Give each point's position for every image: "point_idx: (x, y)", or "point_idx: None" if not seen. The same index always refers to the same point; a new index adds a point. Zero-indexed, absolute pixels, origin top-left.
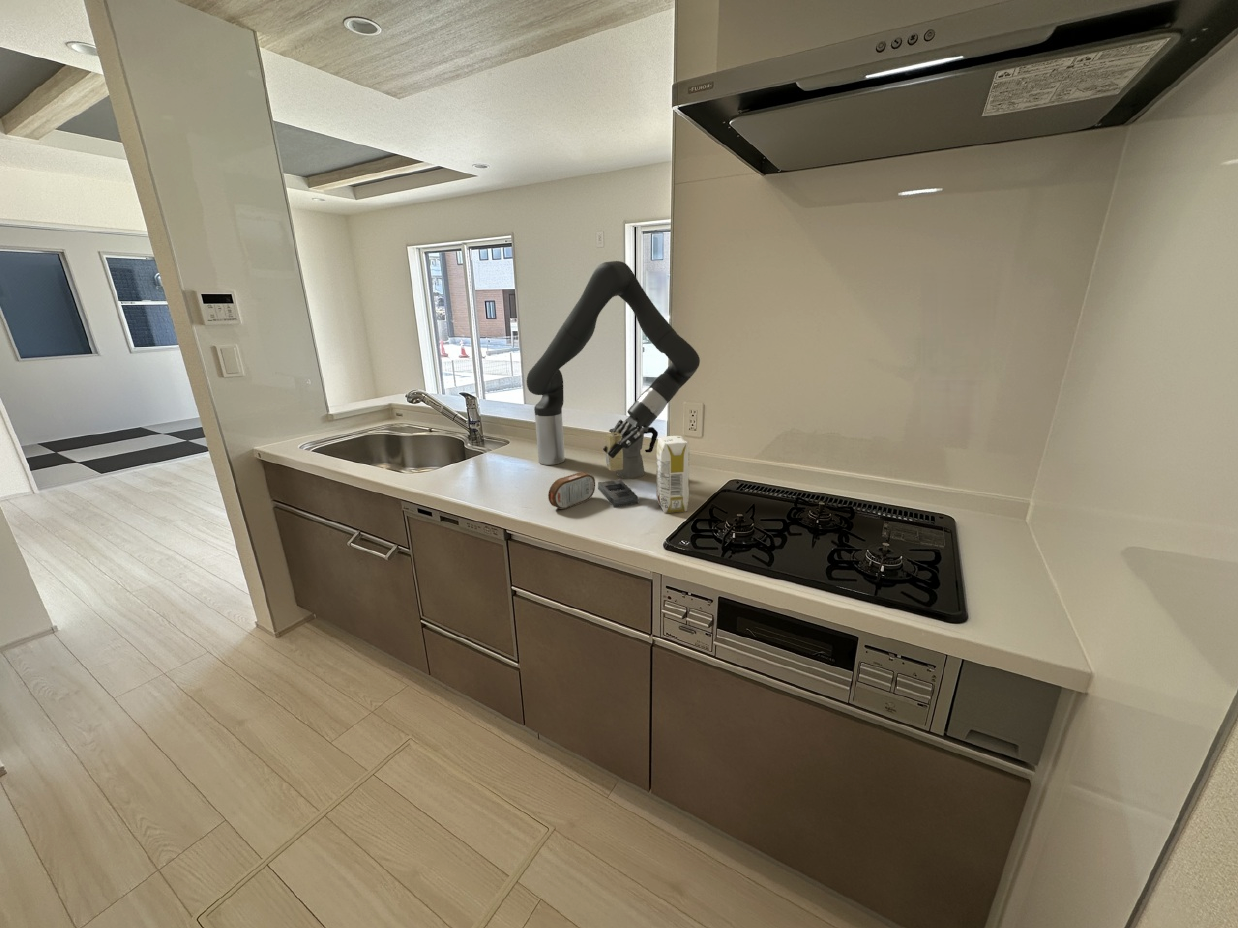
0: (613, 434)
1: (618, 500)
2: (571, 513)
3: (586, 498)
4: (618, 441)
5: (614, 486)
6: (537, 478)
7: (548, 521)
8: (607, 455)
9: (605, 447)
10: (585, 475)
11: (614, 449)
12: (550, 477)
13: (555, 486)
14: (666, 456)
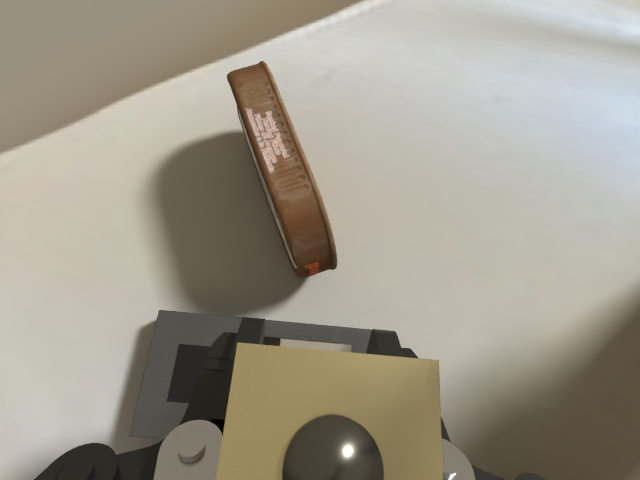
0: (307, 449)
1: (154, 330)
2: (210, 165)
3: (284, 242)
4: (183, 459)
5: None
6: (562, 173)
7: (194, 94)
8: (312, 341)
9: (378, 347)
10: (271, 196)
11: (202, 374)
12: (562, 213)
13: (242, 68)
14: None
